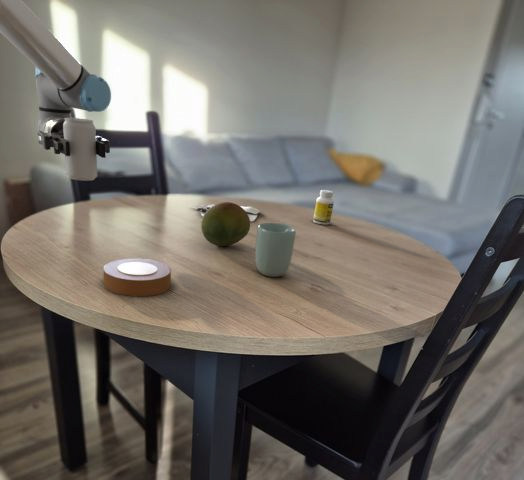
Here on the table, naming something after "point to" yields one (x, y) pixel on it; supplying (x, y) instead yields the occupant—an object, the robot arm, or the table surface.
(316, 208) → the supplement bottle
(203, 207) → the cloth
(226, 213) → the fruit
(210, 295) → the table surface
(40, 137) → the robot arm
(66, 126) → the beverage can
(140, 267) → the brown round flat disc
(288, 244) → the cup
